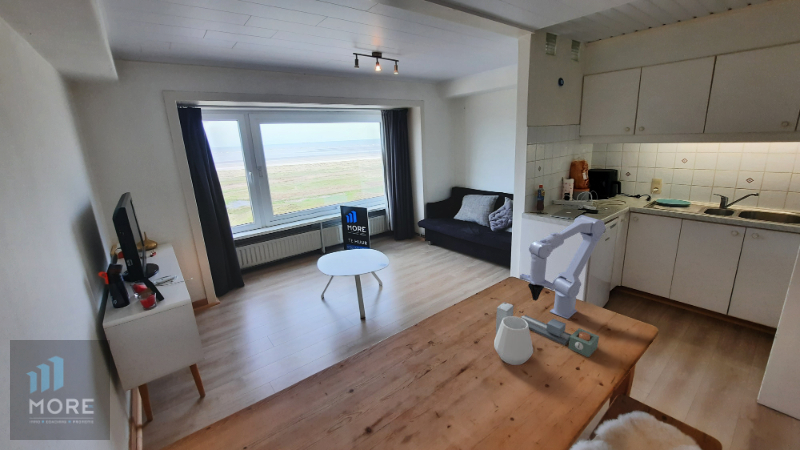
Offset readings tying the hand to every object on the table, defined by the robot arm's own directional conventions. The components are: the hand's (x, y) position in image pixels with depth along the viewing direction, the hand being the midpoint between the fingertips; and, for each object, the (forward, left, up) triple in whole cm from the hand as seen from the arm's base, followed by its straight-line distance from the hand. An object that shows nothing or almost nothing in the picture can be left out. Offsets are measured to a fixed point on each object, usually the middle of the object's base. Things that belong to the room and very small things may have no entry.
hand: (535, 299), depth 137 cm
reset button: (+5, +22, -8) cm, 24 cm away
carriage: (+5, +12, -8) cm, 15 cm away
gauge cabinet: (+5, +22, -9) cm, 24 cm away
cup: (+28, +7, -10) cm, 30 cm away
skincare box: (+18, -3, -10) cm, 21 cm away
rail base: (+5, +7, -9) cm, 13 cm away
